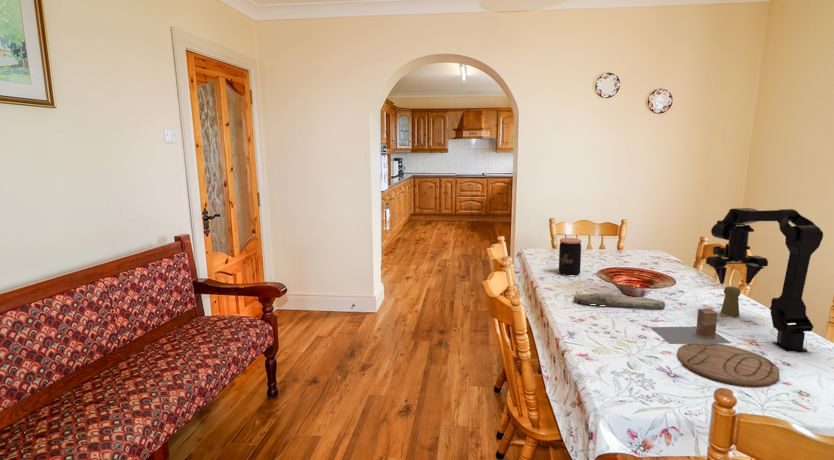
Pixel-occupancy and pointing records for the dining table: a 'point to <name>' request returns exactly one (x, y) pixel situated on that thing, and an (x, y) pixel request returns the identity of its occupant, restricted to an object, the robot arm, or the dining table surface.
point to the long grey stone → (619, 301)
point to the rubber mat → (685, 335)
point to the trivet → (728, 364)
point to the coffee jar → (570, 256)
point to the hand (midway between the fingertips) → (734, 284)
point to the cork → (731, 302)
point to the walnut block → (706, 323)
